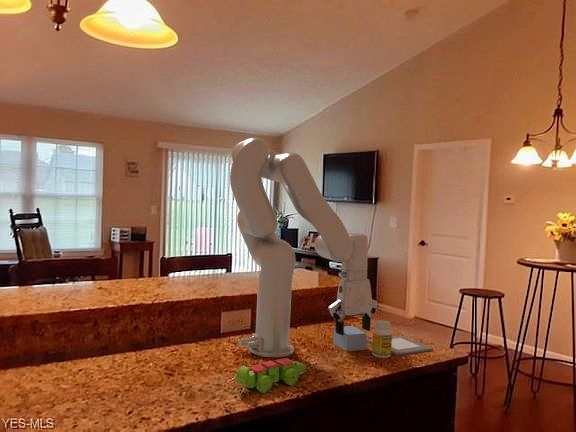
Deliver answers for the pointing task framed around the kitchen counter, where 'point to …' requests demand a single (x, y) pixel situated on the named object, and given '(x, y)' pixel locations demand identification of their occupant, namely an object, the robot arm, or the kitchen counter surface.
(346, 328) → the light blue block
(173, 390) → the kitchen counter surface
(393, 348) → the base plate
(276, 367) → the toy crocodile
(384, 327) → the supplement bottle
